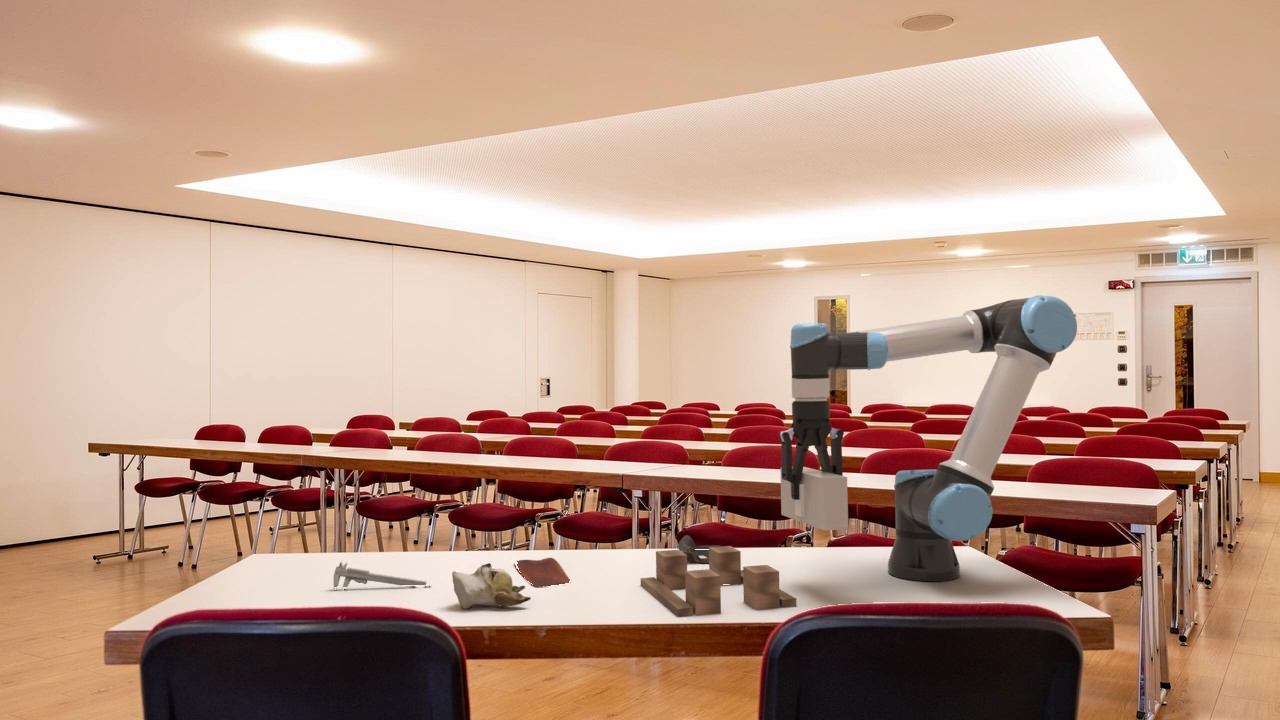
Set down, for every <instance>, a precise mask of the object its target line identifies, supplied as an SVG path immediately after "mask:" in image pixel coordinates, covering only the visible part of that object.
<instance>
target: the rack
mask: <svg viewBox="0 0 1280 720" xmlns="http://www.w3.org/2000/svg"><path fill="white" fill-rule="evenodd" d="M741 555H742V554H741V551H740V550H739V549H737V548H736V547H733V546H731V545H727V546H721V547H710V548H709V563H708V569H696V570H695V569H694V570H688V555H687V553H683V552H682V551H680V550H679V549H670V550H669V549H668V550H656V551H655V572H656V573H655V575H656V576H655V577H654V576H652V577H640V586H641V587H642V588H643V589H644V590H646V591H647V592H648V593H649V594H650V595H651V596H653V597H654V598H655V599H656V600H657V601H658V602H659V603H661V604H662V605H663V606H665V608H667V609H668V610H669V611H671V613H672V614H674V615H675V616H676V617H677V618H679V617H680V618H681V617H693V616H703V615H704V616H705V615H714V614H721V613H722V605H721V604H722V594H721V592H722V591H721V590H722V589H721V588H722V586H721V585H723V584H738V585H743V604H746V605H747V606H749V607H751V608H752V609H754V610H755V611H759V610H770V609H780V608H791V607H797V598H796V597H794V596H793V595H791V594H789V593H788V592H786V591H784V590H782V589H781V588H780V570H778V569H776V568H774V567H772V566H770V565H769V564H760V565H746V566H743V567H742V566H741V564H742V561H741ZM742 583H743V584H742ZM674 590H684V591H685V592H684V593H685V600H684V599H683V598H681V596H679V595H678V594H677V593H675V592H674Z"/></svg>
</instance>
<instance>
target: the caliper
mask: <svg viewBox="0 0 1280 720" xmlns="http://www.w3.org/2000/svg"><path fill="white" fill-rule="evenodd" d="M347 566H348V562H346V563H345V564H343V561H340V562H339V565H337V566H336V567H335V571H334V573H333V588H334V587H337V586H339V583H340V579H341V578H342V577H343V578H344V581H343V585H342V588H343V587H347V588H348V586H349V585H350V583H351V581H354V582H356V583H357V584H361V583H362V584H364V585H366V584H367V583H368V581H369V582H375V583H382V584H388V585H389V584H390V585H395V586H396V585H397V586H402V585H426V584H427V581H426V580H419V579H414V578H413V579H412V578H407V577H400V576H393V575H387V574H379V573H372V572H370V570H366V569H360V568H353V567H348V568H347Z"/></svg>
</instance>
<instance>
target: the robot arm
mask: <svg viewBox="0 0 1280 720" xmlns="http://www.w3.org/2000/svg"><path fill="white" fill-rule="evenodd" d="M1077 332H1078V322H1077V318H1076V317H1075V314H1074V311H1073V309H1072V308H1071V306H1070V305H1069V304H1067V302H1065V301H1064V300H1063V299H1061V298H1058V297H1056V296H1053V295H1052V296H1051V295H1039V294H1038V295H1034V296H1031V297H1027V298H1017V299H1009V300H1006V301H1002V302H999V303H998V302H997V303H996V304H992V305H989V306H985V307H982V308H977V309H972V310H967V311H966V310H965V312H964V313H963V314H962V315H960V316H954V317H947V318H942V319H941V318H940V319H934V320H926V321H920V322H913V323H906V324H899V325H894V326H893V325H892V326H887V327H886V326H885V327H879V328H878V327H877V328H873V329H872V328H871V329H864V330H859V331H852V332H840V333H836V332H830V329H829V326H828V324H827V323H817V322H816V323H815V322H813V323H809V322H808V323H797V324H795V325H793V326H792V327H791V331H790V346H789V348H790V359H791V360H790V361H791V363H790V364H791V365H790V366H791V367H790V368H791V398H793V399H794V400H793V401H792V403H791V417H792V424H791V426H790V429H787V430H784V431H783V430H781V431H779V432H778V437H779V438H778V439H779V440H780V443H781V452H780V454H781V457H780V458H781V468H782V479H783V480H786V481H789V482H790V483H791V497H792V499H794V500H795V515H797V516H800V517H805V512H804V484H802V483H800V481H801V476H802V472H803V467H805V461H806V457H807V453H808V451H809V448H810V447H812V446H813V447H814V448H815V450H816V453H817V457H818V461H819V464H820V468H821V471H824V472H828V473H832V474H837V475H841V476H844V475H843V473H844V472H843V446H842V445H843V444H842V442H843V437H844V435H845V432H844V430H843V429H840V428H839V429H838V428H834V427H832V424H831V423H830V418H831V411H830V410H831V409H830V408H831V407H830V406H831V404H830V401H829V400H827V399H830V395H831V394H830V371H836V370H838V371H839V370H841V371H842V370H845V371H846V370H847V371H848V370H852V371H853V370H854V371H855V370H857V371H858V370H868V371H870V370H877V369H878V370H880V369H882V368H883V367H885V365H886V363H888V362H895V361H899V360H900V361H902V360H907V359H914V358H921V357H928V356H933V355H935V356H936V355H941V354H943V355H944V354H949V353H956V352H962V351H968V352H969V353H971V354H979V353H996V355H997V358H996V360H995V362H994V364H993V366H992V368H991V371H990V373H989V375H988V377H987V379H986V381H985V383H984V386H983V388H982V390H981V392H980V394H979V396H978V398H977V400H976V403H975V405H974V407H973V410H972V411H971V414H970V415H969V417H968V420H967V422H966V424H965V426H964V429H963V431H962V433H961V435H960V438H959V439H958V442H957V444H956V446H955V447H954V450H953V452H952V454H951V456H950V458H949V459H948V460H945V461H943V462H940V463H939V464H938V466H937V469H913V470H912V469H910V470H909V469H908V470H899V471H897V472H896V474H895V476H894V478H895V480H894V485H893V487H894V506H895V507H894V508H895V509H894V510H895V511H894V512H895V539H894V542H893V546H892V549H891V552H890V555H889V559H888V562H887V572H888V574H889V575H891V576H893V577H896V578H900V579H905V580H910V581H920V582H921V581H922V582H942V581H943V582H944V581H952V580H955V579H958V578H959V577H960V576H961V571H960V570H961V568H960V562H959V560H958V557H957V554H956V551H955V548H954V545H953V542H952V540H953V541H959V542H961V541H962V542H963V541H970V540H973V539H975V538H977V537H978V536H980V535H981V534H983V533H984V532H985V531H986V530H987V528H988V526H989V525H990V524H991V521H992V518H993V512H994V511H993V506H992V500H991V499H990V498H991V496H992V494H993V491H994V489H995V486H994V483H993V480H992V475H993V473H994V470H995V469H996V466H997V464H998V461H999V460H1000V457H1001V455H1002V453H1003V451H1004V449H1005V447H1006V445H1007V442H1008V440H1009V438H1010V436H1011V433H1012V431H1013V429H1014V427H1015V425H1016V422H1017V420H1018V419H1019V416H1020V414H1021V412H1022V410H1023V407H1024V406H1025V403H1026V402H1027V401H1026V400H1027V399H1028V397H1029V395H1030V392H1031V390H1032V389H1033V386H1034V383H1035V381H1036V380H1037V377H1038V375H1039V374H1040V373H1042V372H1046V371H1048V370H1050V369H1051V366H1052V364H1053V361H1054V360H1055V357H1056V355H1057V353H1061V352H1063V351H1065V350H1067V349H1068V348H1069V347H1070V346H1071V345H1072V344H1073V343H1074V341H1075V339H1076V336H1077ZM793 436H794V437H795V440H796V444H795V453H794V458H793V443H792V440H793ZM828 436H829V438H830V454H829V451H828V443H827V438H828ZM829 455H830V456H829Z"/></svg>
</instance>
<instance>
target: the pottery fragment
mask: <svg viewBox="0 0 1280 720" xmlns="http://www.w3.org/2000/svg"><path fill="white" fill-rule="evenodd" d="M710 547H722V546H721V544H720V545H715V544H714V545H712V544H710V545H707V544H706V545H699V546H697V545H696V543H695V541H694V540H693V538H692V537H691V536H690V535H688V534H687V535H684V536H683V537H682V538H681V539H680V541H679V542H678V544H677V550H679V551H681V552H683V553H684V554H686V555H687V559H689V561H691V562H694V563H699V564H700V563H701V564H709V550H695V549H709V548H710Z"/></svg>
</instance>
